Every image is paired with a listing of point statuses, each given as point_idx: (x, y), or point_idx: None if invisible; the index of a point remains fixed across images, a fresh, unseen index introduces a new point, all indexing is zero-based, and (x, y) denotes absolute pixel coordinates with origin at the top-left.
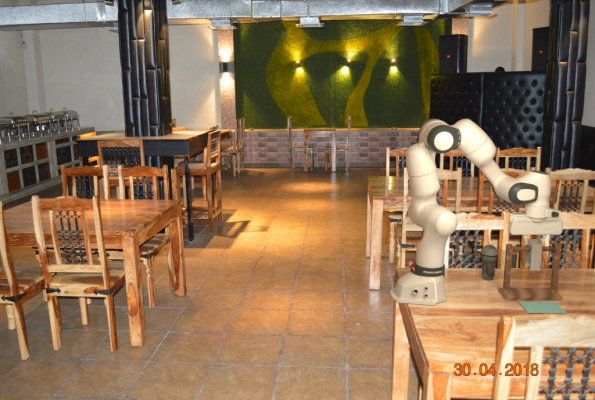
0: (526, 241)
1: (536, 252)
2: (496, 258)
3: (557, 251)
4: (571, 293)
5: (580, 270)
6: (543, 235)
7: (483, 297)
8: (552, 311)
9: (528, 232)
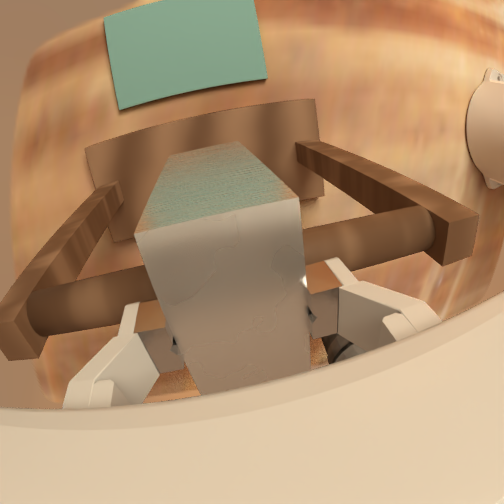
0: (352, 283)
1: (211, 178)
2: (338, 341)
3: (26, 286)
4: (56, 230)
5: (59, 395)
6: (113, 405)
7: (379, 122)
8: (152, 10)
9: (439, 362)
